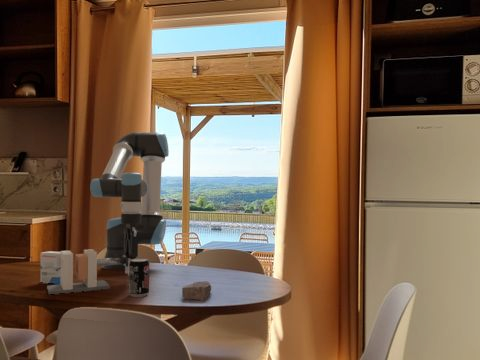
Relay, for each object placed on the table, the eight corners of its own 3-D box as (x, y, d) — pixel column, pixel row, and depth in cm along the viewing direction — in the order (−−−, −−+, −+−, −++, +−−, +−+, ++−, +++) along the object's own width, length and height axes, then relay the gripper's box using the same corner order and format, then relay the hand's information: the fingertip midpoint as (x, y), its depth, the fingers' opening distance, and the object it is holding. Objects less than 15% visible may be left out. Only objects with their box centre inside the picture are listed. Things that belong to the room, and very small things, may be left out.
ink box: (66, 282, 164) (67, 251, 164) (57, 284, 159) (57, 253, 160) (49, 280, 167) (49, 250, 167) (39, 283, 162) (39, 252, 163)
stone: (187, 292, 149) (187, 278, 149) (212, 292, 148) (212, 279, 148) (180, 300, 137) (180, 286, 137) (207, 301, 137) (207, 287, 137)
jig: (104, 283, 162) (104, 248, 162) (109, 288, 153) (109, 251, 153) (46, 289, 152) (47, 251, 152) (49, 295, 143) (49, 255, 144)
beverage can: (148, 292, 148) (149, 257, 148) (149, 296, 141) (149, 261, 142) (129, 293, 146) (129, 258, 147) (128, 297, 140) (128, 261, 140)
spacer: (83, 275, 157) (84, 253, 157) (87, 279, 150) (87, 256, 150) (75, 276, 156) (75, 254, 156) (78, 280, 149) (78, 257, 149)
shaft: (133, 264, 164) (133, 253, 164) (136, 265, 161) (136, 255, 161) (82, 268, 155) (82, 257, 155) (83, 270, 152) (83, 258, 152)
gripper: (116, 212, 168) (115, 271, 167) (126, 214, 153) (125, 279, 152) (135, 211, 172) (134, 269, 171) (147, 213, 156) (146, 277, 156)
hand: (130, 273), depth 162 cm, fingers closed on shaft, 4 cm apart
